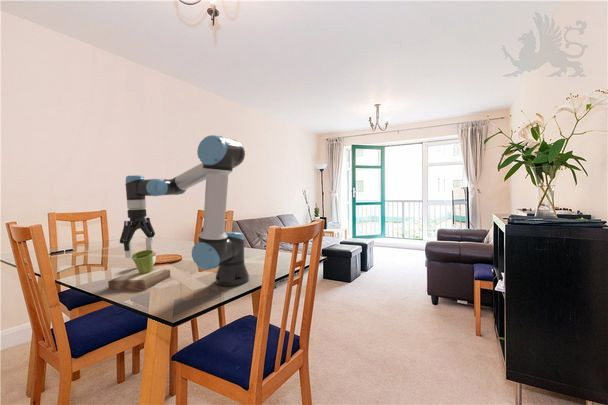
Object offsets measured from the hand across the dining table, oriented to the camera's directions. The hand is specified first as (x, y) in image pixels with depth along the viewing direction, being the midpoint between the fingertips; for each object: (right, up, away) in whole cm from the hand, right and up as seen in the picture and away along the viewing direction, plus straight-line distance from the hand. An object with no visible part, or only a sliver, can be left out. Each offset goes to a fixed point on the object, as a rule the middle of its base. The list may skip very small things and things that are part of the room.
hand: (139, 254), depth 133 cm
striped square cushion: (0, -14, +1) cm, 14 cm away
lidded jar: (-11, -13, +26) cm, 31 cm away
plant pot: (+1, -9, +4) cm, 10 cm away
